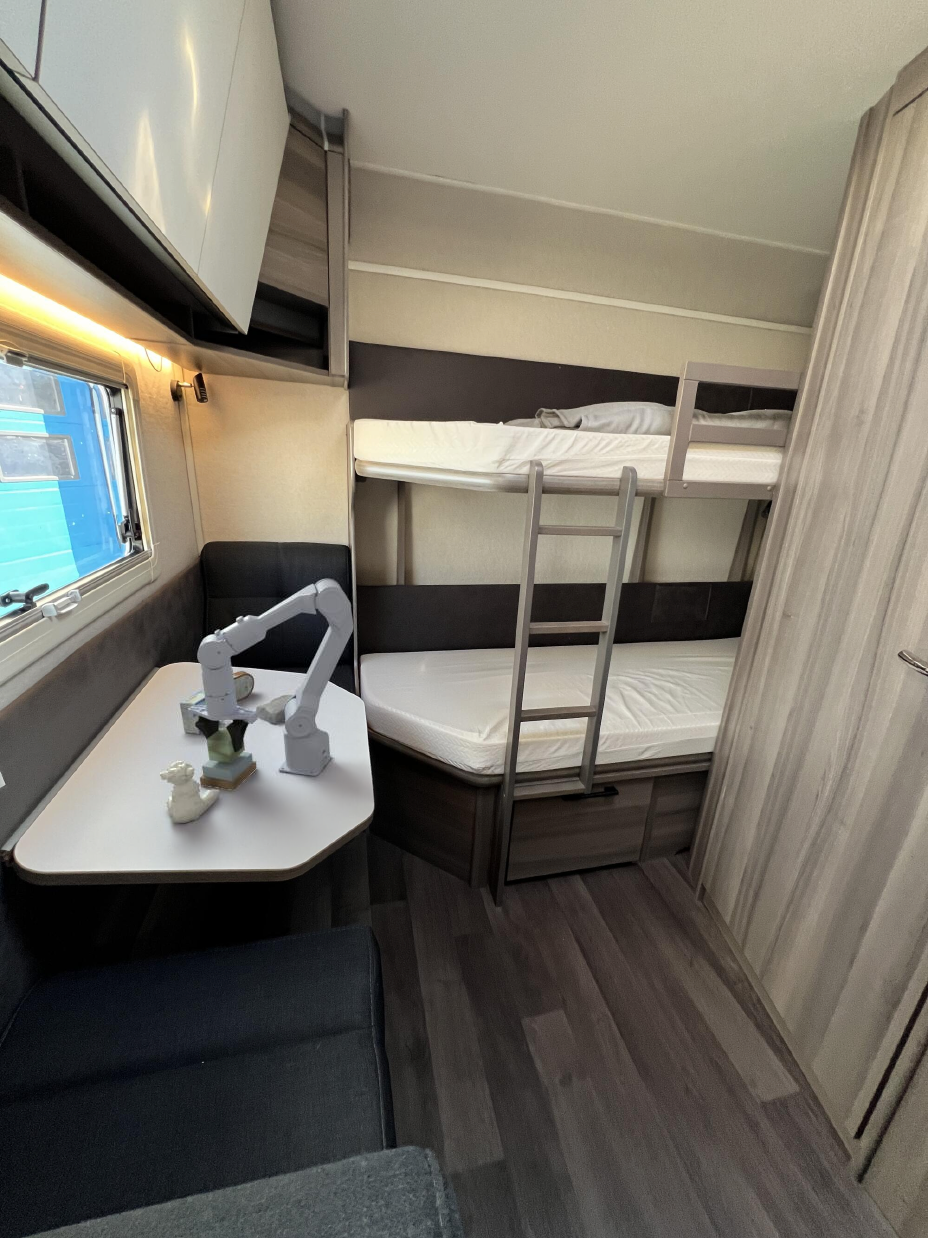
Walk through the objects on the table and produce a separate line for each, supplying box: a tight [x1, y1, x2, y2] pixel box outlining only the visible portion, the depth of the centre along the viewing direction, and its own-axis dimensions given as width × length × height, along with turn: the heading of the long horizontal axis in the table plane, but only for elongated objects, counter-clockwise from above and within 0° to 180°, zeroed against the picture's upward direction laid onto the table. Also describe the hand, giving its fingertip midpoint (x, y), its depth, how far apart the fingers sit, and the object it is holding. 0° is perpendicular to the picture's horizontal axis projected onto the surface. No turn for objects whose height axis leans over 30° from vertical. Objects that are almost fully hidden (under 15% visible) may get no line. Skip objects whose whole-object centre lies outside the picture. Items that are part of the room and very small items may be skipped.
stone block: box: [255, 694, 294, 725], centre depth 132 cm, size 12×5×10 cm
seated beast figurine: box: [159, 760, 221, 824], centre depth 90 cm, size 10×9×12 cm
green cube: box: [206, 727, 246, 763], centre depth 101 cm, size 5×5×5 cm
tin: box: [233, 670, 255, 703], centre depth 136 cm, size 15×3×8 cm, turn 154°
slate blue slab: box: [201, 751, 254, 781], centre depth 102 cm, size 7×7×2 cm
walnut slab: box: [199, 760, 258, 791], centre depth 103 cm, size 8×8×2 cm
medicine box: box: [179, 689, 206, 735], centre depth 122 cm, size 8×4×9 cm, turn 168°
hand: (226, 748), depth 101 cm, fingers closed on green cube, 5 cm apart
